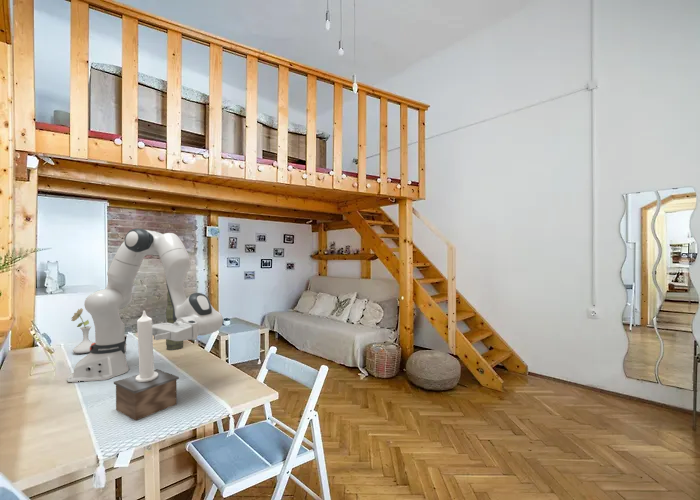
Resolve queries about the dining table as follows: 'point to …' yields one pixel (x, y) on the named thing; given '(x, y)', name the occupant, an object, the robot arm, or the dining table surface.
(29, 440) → the dining table surface
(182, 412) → the dining table surface
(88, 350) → the flower in vase
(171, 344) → the thermos
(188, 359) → the dining table surface
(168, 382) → the walnut pedestal
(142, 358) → the candle
